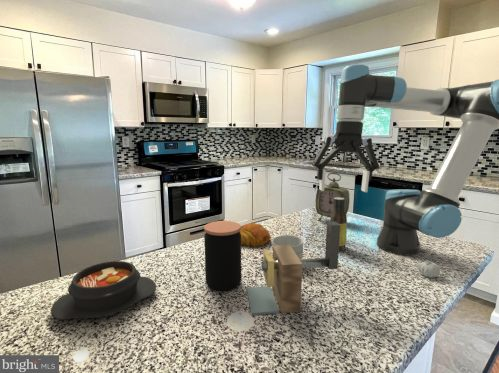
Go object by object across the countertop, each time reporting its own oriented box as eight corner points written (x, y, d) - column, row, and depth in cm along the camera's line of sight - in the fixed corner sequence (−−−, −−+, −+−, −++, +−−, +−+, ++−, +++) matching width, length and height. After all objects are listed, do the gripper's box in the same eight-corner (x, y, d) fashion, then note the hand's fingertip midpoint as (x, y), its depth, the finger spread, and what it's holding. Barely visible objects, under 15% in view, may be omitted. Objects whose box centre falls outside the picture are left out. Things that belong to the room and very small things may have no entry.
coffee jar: (246, 278, 90) (246, 222, 87) (233, 296, 80) (232, 234, 77) (215, 272, 93) (214, 219, 90) (199, 289, 83) (197, 230, 80)
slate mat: (270, 287, 84) (270, 285, 84) (279, 313, 73) (279, 310, 73) (246, 289, 84) (246, 287, 83) (251, 315, 72) (251, 312, 72)
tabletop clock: (314, 220, 147) (316, 172, 142) (322, 216, 154) (325, 170, 149) (342, 227, 138) (345, 175, 133) (349, 222, 145) (352, 173, 140)
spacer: (268, 273, 81) (269, 249, 79) (273, 286, 74) (274, 261, 72) (263, 273, 80) (263, 250, 79) (267, 287, 74) (267, 261, 72)
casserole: (48, 340, 63) (43, 305, 62) (54, 298, 79) (50, 269, 77) (163, 306, 76) (162, 276, 74) (149, 275, 91) (147, 250, 90)
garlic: (419, 278, 90) (421, 262, 89) (416, 270, 95) (418, 255, 94) (441, 281, 88) (444, 265, 87) (437, 273, 93) (439, 258, 92)
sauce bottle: (348, 247, 113) (352, 198, 109) (340, 252, 109) (343, 201, 105) (333, 243, 118) (336, 195, 114) (325, 247, 113) (328, 198, 110)
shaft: (333, 263, 80) (335, 221, 78) (337, 268, 77) (340, 225, 75) (261, 267, 78) (261, 224, 76) (262, 272, 75) (263, 228, 73)
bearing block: (288, 286, 85) (290, 244, 82) (300, 311, 73) (302, 263, 71) (272, 287, 84) (272, 245, 82) (281, 312, 73) (282, 264, 70)
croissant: (228, 245, 121) (225, 227, 119) (255, 232, 131) (253, 215, 129) (251, 255, 111) (249, 236, 109) (278, 240, 120) (277, 222, 118)
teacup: (302, 270, 95) (303, 247, 94) (269, 266, 97) (269, 244, 96) (303, 252, 109) (303, 232, 107) (274, 250, 111) (274, 230, 109)
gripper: (312, 118, 82) (306, 192, 86) (397, 122, 83) (388, 194, 87) (305, 119, 89) (300, 187, 93) (383, 123, 91) (375, 189, 95)
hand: (342, 190), depth 90 cm, fingers open, 13 cm apart
